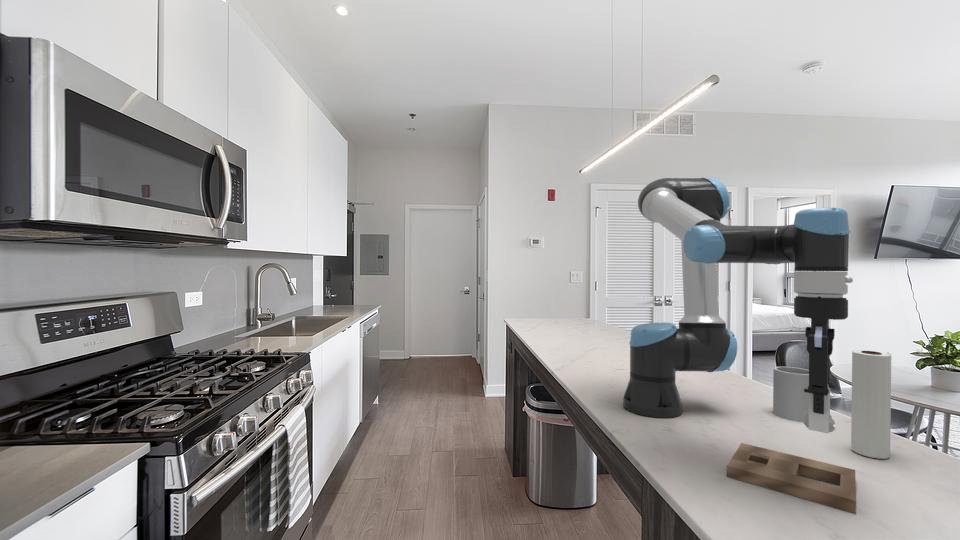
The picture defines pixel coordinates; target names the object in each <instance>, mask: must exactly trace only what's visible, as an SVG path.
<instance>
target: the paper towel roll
mask: <svg viewBox="0 0 960 540" xmlns="http://www.w3.org/2000/svg"><path fill="white" fill-rule="evenodd" d="M851 352H852V354H851V419H850V421H851V424H850V425H851V427H850V429H851V430H850V431H851V432H850V433H851V434H850V448H851V450H852V451H853V452H855V453H856V454H858V455H861V456H865V457H868V458H874V459H879V460H885V459H889V458H890V457H891V421H892V419H891V416H892V413H891V411H892V408H891V407H892V406H891V405H892V402H891V401H892V354H891V353H889V352H888V351H887V352H882V351H881V352H878V351H874V350H873V351H872V350H852V351H851Z"/></svg>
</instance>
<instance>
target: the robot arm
mask: <svg viewBox="0 0 960 540" xmlns="http://www.w3.org/2000/svg"><path fill="white" fill-rule="evenodd" d="M729 194H730V193H729V192H728V189H727V187H726V185H725V184H724V182H722V181H721V180H719V179H718V178H717V179H716V178H707V177H700V178H699V177H695V178H694V177H693V178H692V177H691V178H690V177H681V178H679V177H663V178H658V179H656V180H654V181H652V182H649V183H648V184H647V185H645V187H644V188H643V189H642V190H641V191H640V194H639V196H638V198H637V207H638V210H639V212H640V214H641V215H642V216H643V217H644V218H645V219H647V220H648V221H650V222H652V223H657V224H659V225H661V226H662V227H664V228H665V229H666V230H667V231H669V232H670V233H671V234H673V235H674V236H675V237H677V239H679V240H680V241H681V243H680V244H681V265H682V268H681V269H682V291H683V292H682V293H683V294H682V295H683V314H684V315H683V316H682V318H681V319H680V320H678V328H677V325H676V324H675V323H672V322H648V323H641V324H637V325H636V326H634V327H633V328H632V329H631V331H630V340H629V348H630V350H629V381H628V383H627V385H626V389H625V391H624V395H623V397H622V406H623V409H624V408H625V409H626V410H627V411H629V412H631V413H634V414H635V415H636V414H637V415H641V416H645V417H651V418H675V417H676V418H677V417H678V416H679V417H680V416H682V414H683V403H682V400H681V397H680V393H679V390H678V386H677V384H676V373H677V372H706V373H713V372H724V371H727V370H728V369H730V368H731V367H732V365H733V364H734V363H735V360H736V358H737V354H738V342H737V338H736V337H735V336H736V335H735V333H734V332H733V331H732V330H731V329H728V328H727V322H726V321H725V320H724V319H722V318H721V316H720V311H719V310H720V309H719V307H720V306H719V291H718V287H719V285H718V271H717V270H718V269H717V264H766V265H781V264H794V268H793V269H794V271H793V293H795V294H797V295H796V296H795V297H794V298H793V299H794V300H793V314H794V316H796V317H798V318H803V319H804V318H805V319H810V320H811V321H810V326H806V328H805V331H804V332H805V334H804V335H805V337H806V352H807V353H808V370H809V386H808V389H804V392H807V393H809V428H808V430H809V431H813V432H814V431H815V432H819V433H823V434H830V432H829V412H830V413H831V391H830V392H829V390H828V387H829V388H830V389H835V383H833V382H830V381H831V376H830V373H831V371H830V362H831V361H830V358H831V355H832V354H833V349H834V347H833V346H834V345H833V344H834V343H833V342H834V340H835V333H836V331H835V329H836V328H830V326H829V325H830V320H833V321H834V320H836V321H841V320H842V321H843V320H846V319H847V318H848V317H849V300H848V299H847V298H846V297H844V296H845V295H847V294H848V292H849V290H848V288H849V286H848V284H852V283H853V282H854V279H853V277H851V276H849V277H847V276H848V274H849V273H848V271H849V246H850V245H849V241H850V240H849V237H850V235H849V234H850V232H851V231H850V228H849V226H850V225H849V217H848V212H847V211H846V210H845V209H844V208H841V207H815V208H813V207H812V208H808V209H807V208H806V209H801V210H799V211H797V212H796V213H795V216H794V221H793V223H792V224H787V225H727V224H725V223H724V224H723V223H722V222H721V220H722V219H724V218H725V217H726V215H727V214H728V212H729V207H730V195H729ZM829 398H830V399H829ZM625 409H624V410H625Z"/></svg>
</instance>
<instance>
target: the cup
mask: <svg viewBox="0 0 960 540" xmlns="http://www.w3.org/2000/svg"><path fill="white" fill-rule="evenodd" d="M772 378H773V380H772V381H773V382H772V383H773V384H772V385H773V386H772V387H773V389H772V391H773V392H772V395H773V396H772V414H774V415H775V416H776V417H779V418H781V419H785V420H787V421H789V420H790V421H795V422H801V423H804V422H805V421H806V420H805V419H804V417H805V415H806V414H807V412H808V411H809V393H807V392H804V389H808V386H809V369H806V368H801V367H792V366H774V367H773V377H772Z"/></svg>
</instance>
